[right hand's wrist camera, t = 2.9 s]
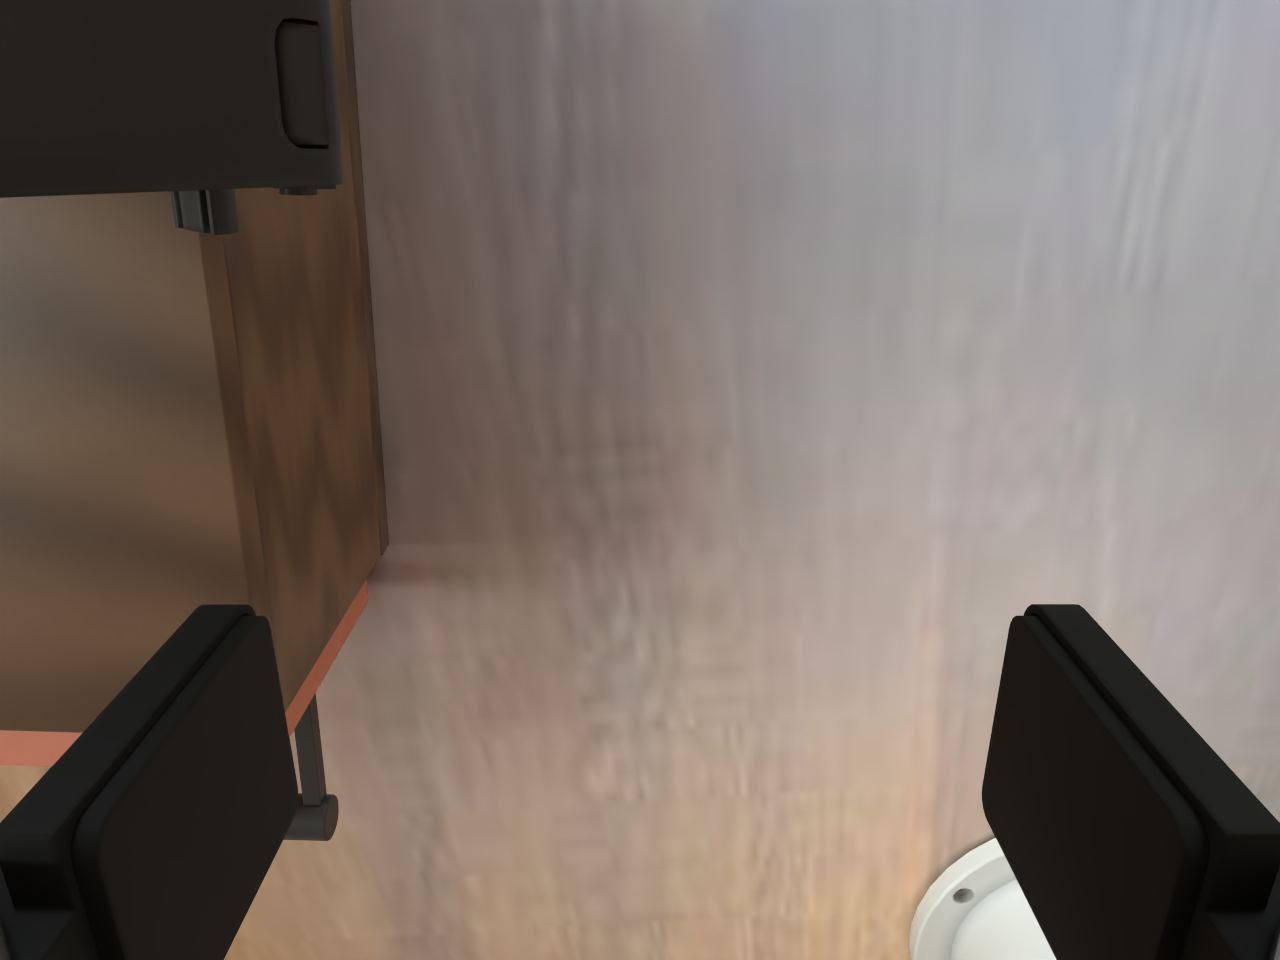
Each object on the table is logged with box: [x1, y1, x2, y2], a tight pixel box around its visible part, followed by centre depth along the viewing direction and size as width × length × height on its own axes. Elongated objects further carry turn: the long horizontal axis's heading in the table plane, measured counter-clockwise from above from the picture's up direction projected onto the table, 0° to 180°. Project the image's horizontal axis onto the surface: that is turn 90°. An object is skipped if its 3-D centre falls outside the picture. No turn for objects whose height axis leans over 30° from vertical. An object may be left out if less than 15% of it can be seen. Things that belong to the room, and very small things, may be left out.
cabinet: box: [0, 0, 389, 733], centre depth 25 cm, size 20×10×12 cm, turn 178°
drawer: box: [0, 580, 368, 841], centre depth 27 cm, size 25×9×10 cm, turn 178°
